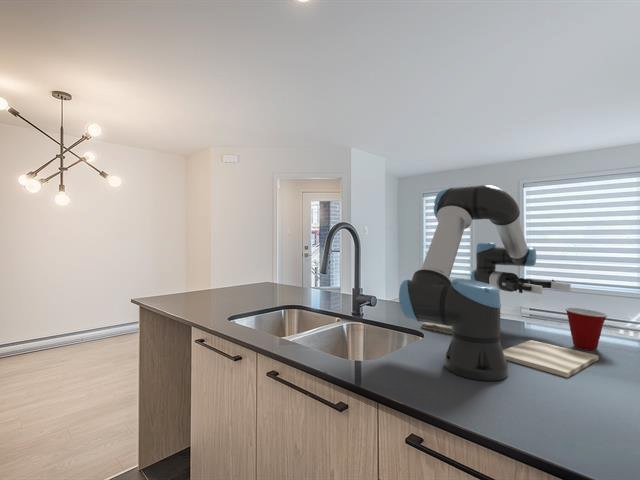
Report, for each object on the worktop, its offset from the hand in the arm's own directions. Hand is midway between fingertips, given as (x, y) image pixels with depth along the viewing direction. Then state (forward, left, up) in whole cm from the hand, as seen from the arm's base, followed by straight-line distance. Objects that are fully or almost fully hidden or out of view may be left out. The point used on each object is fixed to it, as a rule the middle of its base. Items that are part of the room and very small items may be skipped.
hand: (556, 288), depth 116 cm
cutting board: (-24, -6, -17) cm, 30 cm away
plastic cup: (-3, -9, -18) cm, 20 cm away
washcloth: (-20, +29, -18) cm, 39 cm away
